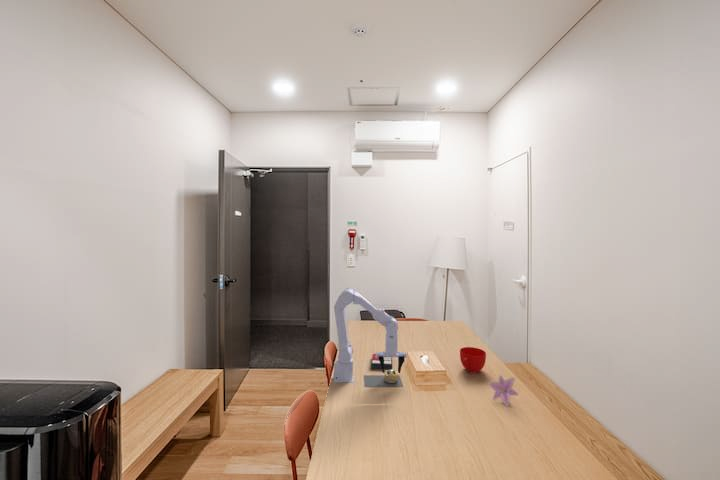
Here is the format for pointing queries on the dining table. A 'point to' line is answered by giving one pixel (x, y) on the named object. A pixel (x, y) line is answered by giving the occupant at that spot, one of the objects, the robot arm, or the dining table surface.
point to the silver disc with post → (390, 374)
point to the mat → (380, 381)
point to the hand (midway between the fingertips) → (391, 372)
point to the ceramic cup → (472, 359)
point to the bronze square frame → (391, 376)
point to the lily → (503, 389)
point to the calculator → (376, 364)
